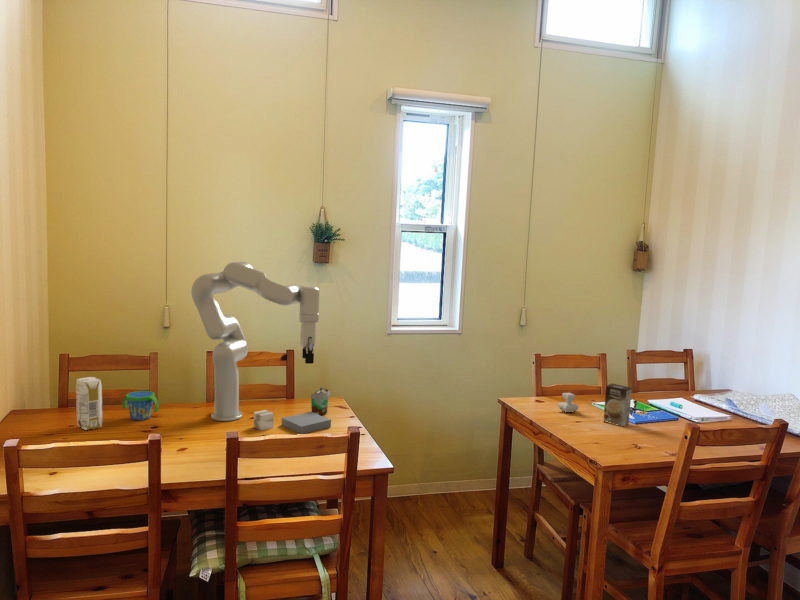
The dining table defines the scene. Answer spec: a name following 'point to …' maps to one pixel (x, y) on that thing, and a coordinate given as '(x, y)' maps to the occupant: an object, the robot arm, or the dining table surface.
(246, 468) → the dining table surface
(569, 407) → the stamp
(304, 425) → the stand
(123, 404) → the snack cup
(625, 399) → the coffee box
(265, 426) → the block
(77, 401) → the juice carton
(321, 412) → the food container
